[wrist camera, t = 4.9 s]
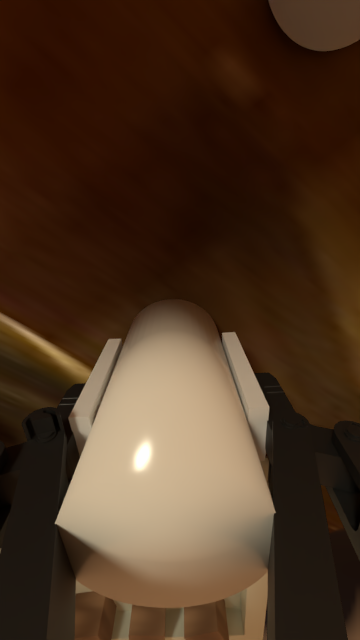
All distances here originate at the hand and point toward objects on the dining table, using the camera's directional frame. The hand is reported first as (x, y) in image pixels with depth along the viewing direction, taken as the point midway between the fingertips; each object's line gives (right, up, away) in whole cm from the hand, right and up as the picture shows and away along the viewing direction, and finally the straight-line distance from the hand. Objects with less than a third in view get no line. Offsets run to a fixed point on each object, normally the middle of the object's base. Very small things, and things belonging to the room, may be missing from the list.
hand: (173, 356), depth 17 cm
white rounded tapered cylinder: (0, +1, +2) cm, 2 cm away
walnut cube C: (+3, -28, +14) cm, 32 cm away
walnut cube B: (-3, -29, +14) cm, 32 cm away
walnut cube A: (-9, -29, +14) cm, 34 cm away
